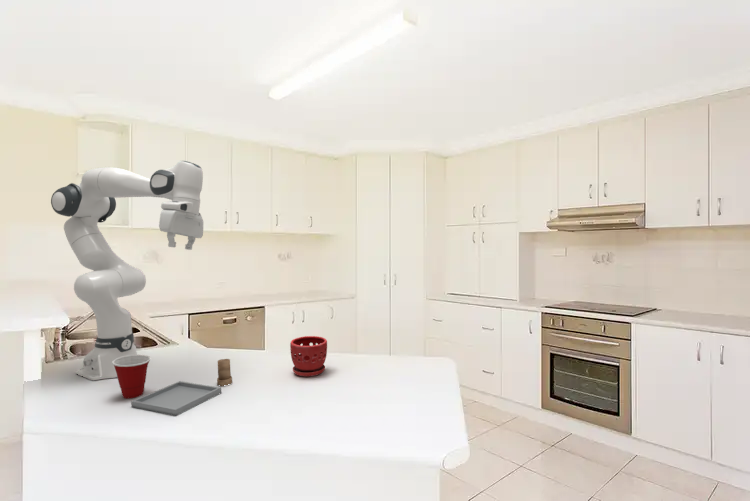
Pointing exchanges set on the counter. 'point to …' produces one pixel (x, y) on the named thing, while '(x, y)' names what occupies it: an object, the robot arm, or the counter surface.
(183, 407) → the grey tray
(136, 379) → the plastic cup
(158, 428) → the counter surface
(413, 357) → the counter surface
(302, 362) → the plant pot
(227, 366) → the walnut pestle
